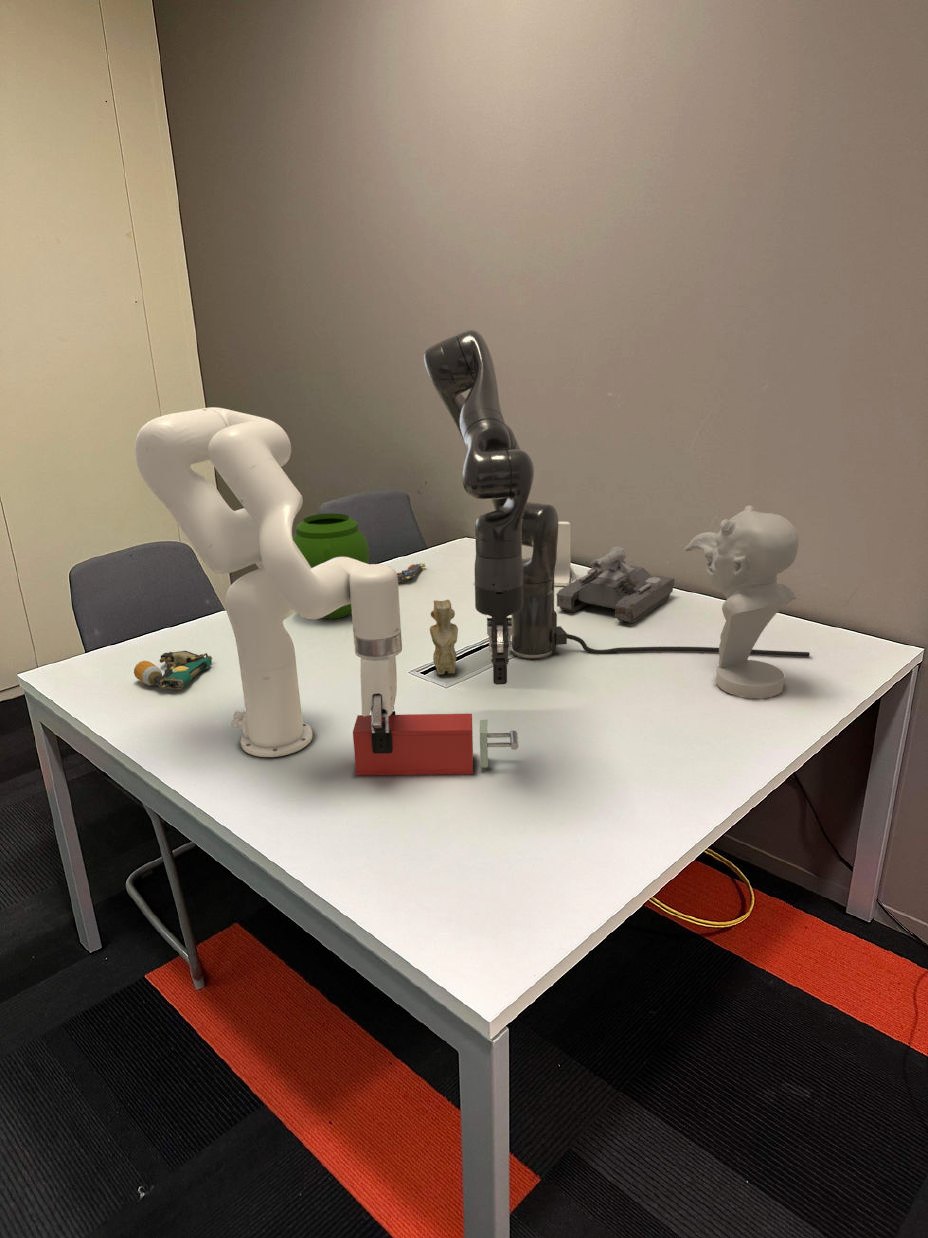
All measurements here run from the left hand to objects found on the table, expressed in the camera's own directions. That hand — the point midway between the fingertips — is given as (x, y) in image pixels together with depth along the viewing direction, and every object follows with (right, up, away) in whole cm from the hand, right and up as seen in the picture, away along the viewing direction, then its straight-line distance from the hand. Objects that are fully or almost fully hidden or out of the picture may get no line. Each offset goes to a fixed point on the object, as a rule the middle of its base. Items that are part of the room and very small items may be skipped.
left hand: (384, 741), depth 142 cm
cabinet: (+5, -4, +2) cm, 7 cm away
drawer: (+11, -3, +1) cm, 11 cm away
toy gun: (-4, +32, +98) cm, 104 cm away
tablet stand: (+30, +33, +97) cm, 107 cm away
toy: (+51, +24, +72) cm, 92 cm away
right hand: (+19, +10, -4) cm, 22 cm away
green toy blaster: (-47, +8, +39) cm, 62 cm away
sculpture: (+9, +9, +38) cm, 40 cm away
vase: (-19, +21, +72) cm, 77 cm away
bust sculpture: (+67, +8, +29) cm, 73 cm away
